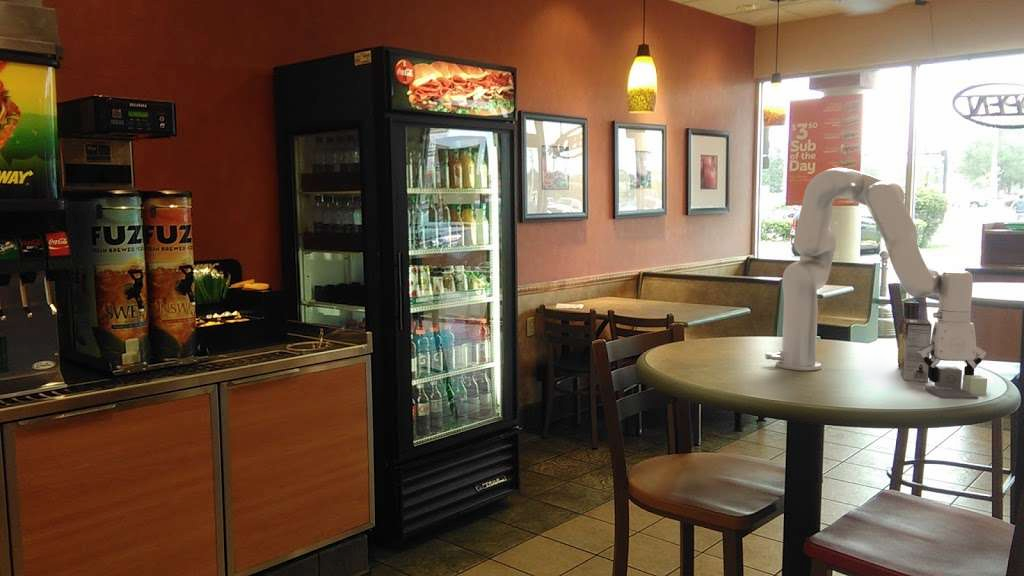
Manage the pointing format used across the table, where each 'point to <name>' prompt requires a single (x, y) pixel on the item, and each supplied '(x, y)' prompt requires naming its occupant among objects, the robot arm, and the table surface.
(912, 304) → the sauce bottle
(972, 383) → the sage block
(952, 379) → the grey cube
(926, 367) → the coffee box
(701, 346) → the table surface
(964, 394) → the black mat
